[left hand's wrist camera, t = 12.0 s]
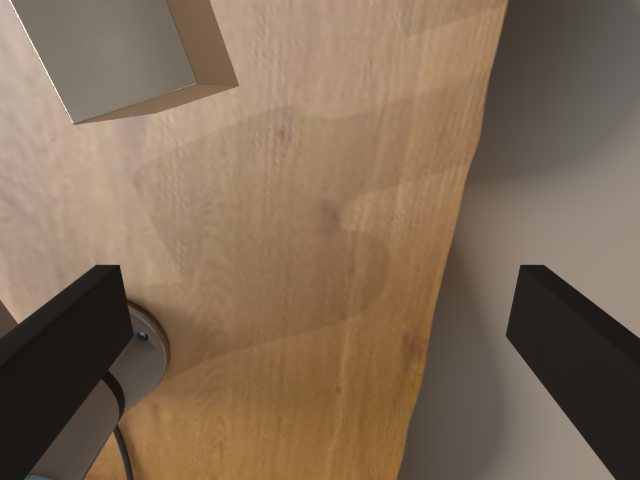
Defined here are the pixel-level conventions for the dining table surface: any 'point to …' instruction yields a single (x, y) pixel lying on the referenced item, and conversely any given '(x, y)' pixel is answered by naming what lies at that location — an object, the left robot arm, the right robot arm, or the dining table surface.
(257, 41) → the dining table surface
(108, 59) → the box
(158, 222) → the dining table surface
